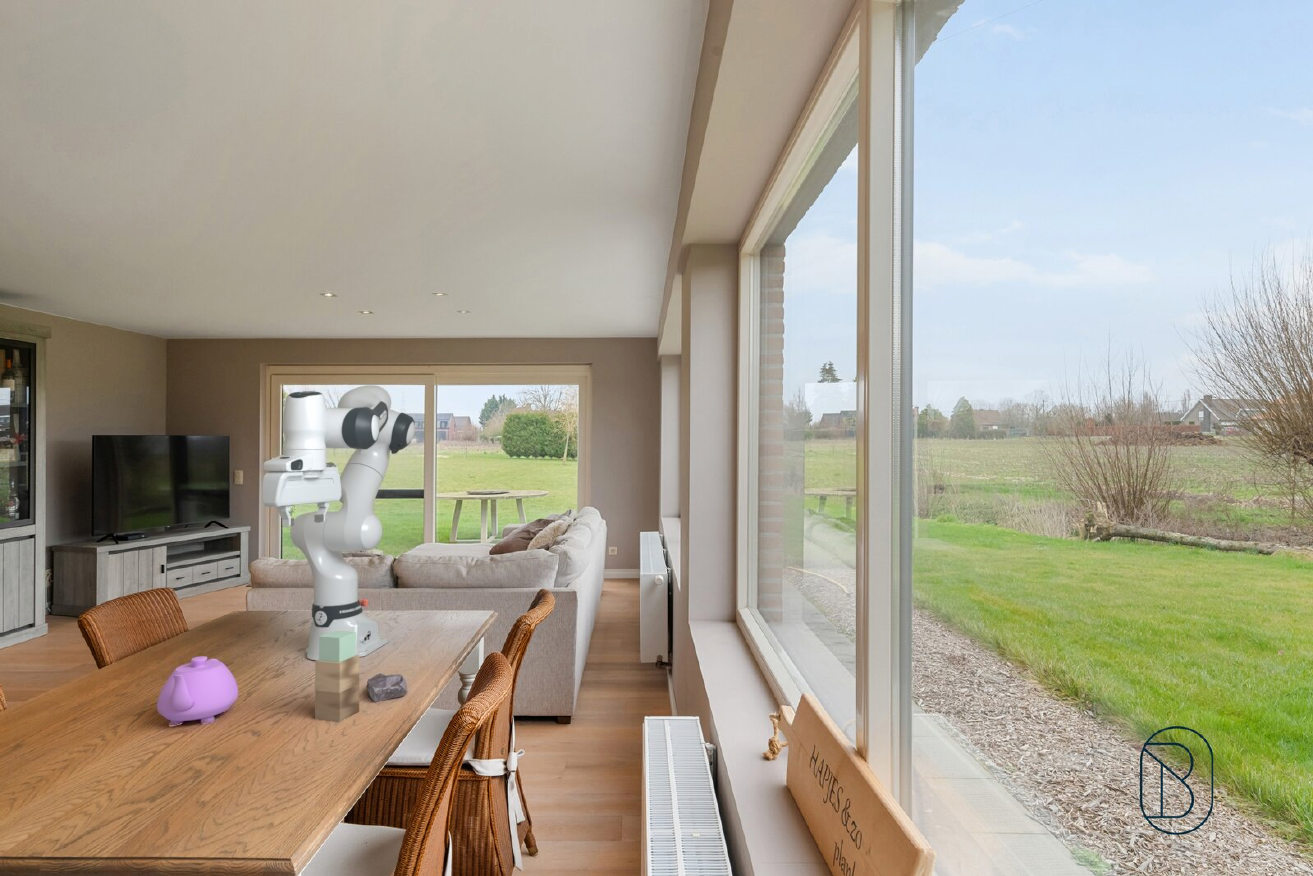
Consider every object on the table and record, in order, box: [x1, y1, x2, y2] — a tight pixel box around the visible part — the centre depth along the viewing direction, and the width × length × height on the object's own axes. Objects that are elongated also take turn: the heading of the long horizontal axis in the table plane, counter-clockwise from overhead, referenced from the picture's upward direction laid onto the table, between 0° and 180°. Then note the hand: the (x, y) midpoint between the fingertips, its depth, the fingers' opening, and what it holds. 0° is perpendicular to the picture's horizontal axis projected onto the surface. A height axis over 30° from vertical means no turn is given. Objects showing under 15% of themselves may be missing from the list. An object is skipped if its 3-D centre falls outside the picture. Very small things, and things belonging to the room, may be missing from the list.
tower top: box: [314, 655, 360, 693], centre depth 146 cm, size 6×6×6 cm
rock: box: [366, 673, 408, 703], centre depth 159 cm, size 8×11×5 cm
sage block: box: [319, 631, 356, 662], centre depth 146 cm, size 5×5×5 cm
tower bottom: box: [314, 683, 360, 723], centre depth 146 cm, size 6×6×6 cm
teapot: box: [156, 655, 239, 725], centre depth 144 cm, size 20×14×12 cm
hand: (304, 524), depth 156 cm, fingers open, 8 cm apart
